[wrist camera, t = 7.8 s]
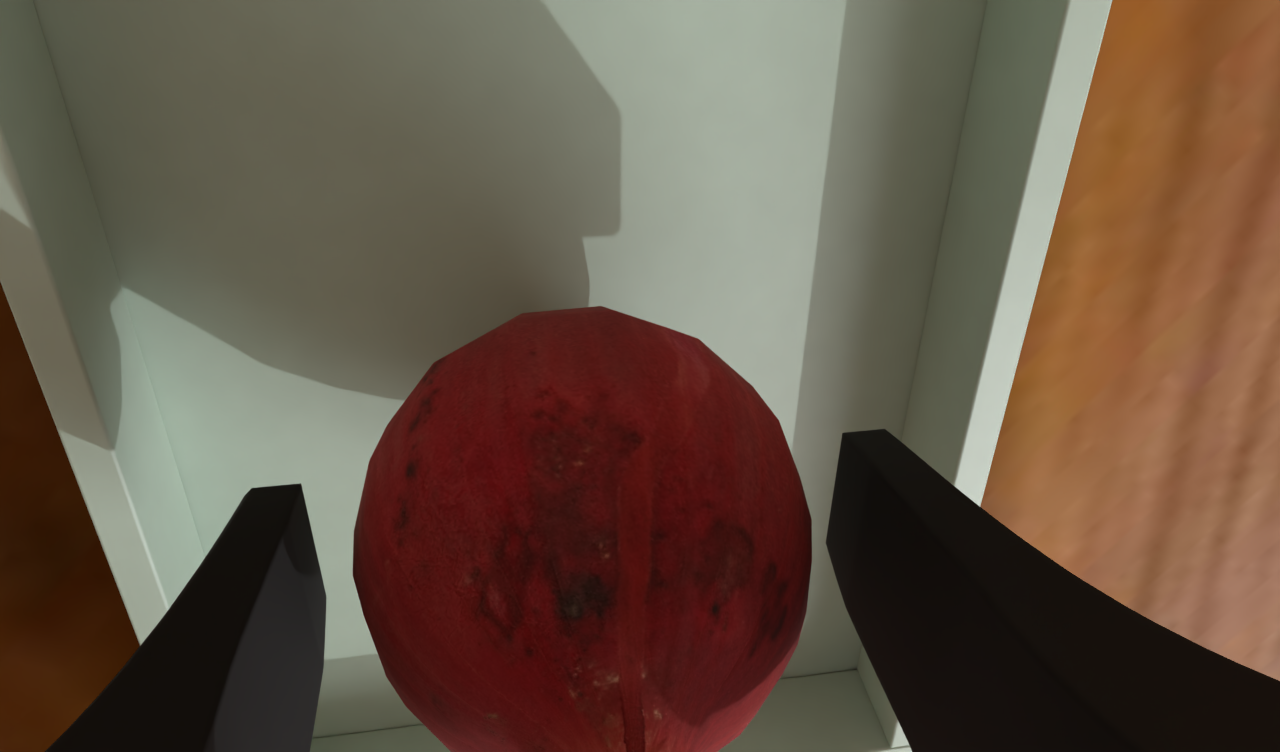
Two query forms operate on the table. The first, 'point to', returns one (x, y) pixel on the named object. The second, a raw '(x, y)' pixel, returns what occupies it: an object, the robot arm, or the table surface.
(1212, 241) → the table surface
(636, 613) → the onion
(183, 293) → the tray
